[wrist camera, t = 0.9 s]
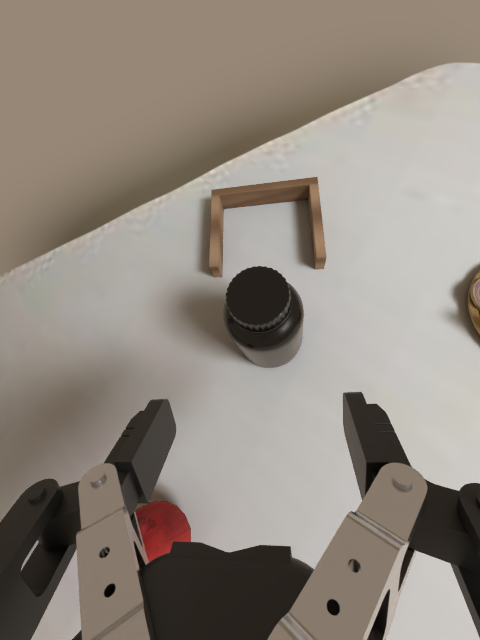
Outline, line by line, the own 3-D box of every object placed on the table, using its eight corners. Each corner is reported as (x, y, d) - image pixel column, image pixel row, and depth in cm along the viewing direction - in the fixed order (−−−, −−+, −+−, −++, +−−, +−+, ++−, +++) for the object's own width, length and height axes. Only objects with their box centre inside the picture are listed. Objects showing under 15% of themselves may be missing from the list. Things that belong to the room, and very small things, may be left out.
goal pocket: (323, 268, 34) (326, 257, 32) (214, 277, 36) (209, 267, 34) (315, 192, 38) (317, 176, 36) (216, 203, 40) (211, 189, 38)
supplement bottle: (274, 297, 34) (266, 236, 23) (315, 342, 32) (328, 298, 21) (227, 334, 34) (195, 290, 23) (264, 382, 31) (250, 359, 20)
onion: (131, 532, 29) (75, 570, 21) (169, 479, 30) (128, 498, 22) (174, 580, 27) (130, 641, 19) (213, 522, 28) (185, 559, 20)
